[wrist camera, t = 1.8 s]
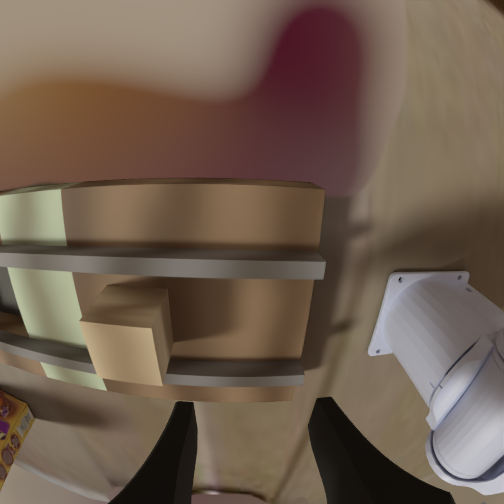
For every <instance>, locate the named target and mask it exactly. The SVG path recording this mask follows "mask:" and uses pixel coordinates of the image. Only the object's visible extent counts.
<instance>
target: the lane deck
mask: <svg viewBox="0 0 504 504" xmlns="http://www.w3.org/2000/svg"><path fill="white" fill-rule="evenodd" d="M324 198H325V189H323V188H321V187H319V186H317V185H315V184H313V183H310V182H296V181H280V180H262V179H234V178H147V179H121V180H104V181H88V182H75V183H64V184H54V185H44V186H36V187H27V188H20V189H13V190H6V191H0V362H3V363H5V364H8V365H11V366H14V367H17V368H20V369H23V370H26V371H29V372H32V373H35V374H39V375H42V376H46V377H49V378H53V379H57V380H61V381H65V382H69V383H73V384H77V385H82V386H86V387H91V388H96V389H101V390H106V391H112V392H118V393H124V394H131V395H138V396H146V397H154V398H163V399H174V400H187V401H204V402H275V401H292V397H293V392H294V388H295V385H302V384H303V380H304V371H303V368H302V364H301V361H300V359H301V354H302V349H303V344H304V338H305V333H306V327H307V322H308V316H309V310H310V304H311V298H312V292H313V285H314V279H323V278H324V272H325V266H326V261H325V260H324V259H323V257H322V256H321V255H320V253H319V252H318V250H319V242H320V234H321V226H322V217H323V208H324ZM106 285H110V286H126V287H144V288H165V289H168V297H169V307H170V316H171V325H172V333H173V341H174V343H173V347H172V351H171V355H170V359H169V363H168V367H167V371H166V375H165V379H164V384H163V386H155V385H146V384H138V383H131V382H123V381H117V380H111V379H105V378H99V377H98V376H97V373H96V371H95V368H94V365H93V362H92V360H91V357H90V354H89V351H88V348H87V345H86V342H85V339H84V336H83V332H82V329H81V326H80V322H79V320H80V319H81V318H82V316H83V315H84V314H85V312H86V311H87V310H88V308H89V307H90V306H91V304H92V303H93V302H94V301H95V299H96V298H97V297H98V295H99V294H100V293H101V292H102V290H103V289H104V288H105V287H106Z"/></svg>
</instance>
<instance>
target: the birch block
mask: <svg viewBox="0 0 504 504" xmlns="http://www.w3.org/2000/svg"><path fill="white" fill-rule="evenodd" d="M79 322H80V326H81V329H82V332H83V336H84V339H85V342H86V345H87V348H88V351H89V354H90V357H91V360H92V362H93V365H94V368H95V371H96V373H97V376H98V377H99V378H105V379H111V380H117V381H123V382H131V383H138V384H146V385H155V386H163V384H164V379H165V375H166V371H167V367H168V363H169V359H170V355H171V351H172V347H173V343H174V341H173V333H172V325H171V316H170V307H169V297H168V289H165V288H144V287H126V286H110V285H106V287H105V288H104V289H103V290H102V292H101V293H100V294H99V295H98V297H97V298H96V299H95V301H94V302H93V303H92V304H91V306H90V307H89V308H88V310H87V311H86V312H85V314H84V315H83V316H82V318H81V319H80V320H79Z"/></svg>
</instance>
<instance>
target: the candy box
mask: <svg viewBox="0 0 504 504" xmlns="http://www.w3.org/2000/svg"><path fill="white" fill-rule="evenodd" d="M34 420H35V418H34V416H33V414H32V412H31V410H30V408H29V406H28V404H27V403H25V402H23V401H20V400H18V399H16V398H14V397H13V396H11V395H9V394H7V393H5V392H4V391H2V390H0V491H1V489H2V486H3V484H4V482H5V479H6V477H7V475H8V472H9V470H10V468H11V466H12V464H13V462H14V459H15V457H16V455H17V453H18V451H19V449H20V447H21V445H22V443H23V441H24V439H25V437H26V436H27V434H28V432H29V430H30V428H31V426H32V424H33V422H34Z"/></svg>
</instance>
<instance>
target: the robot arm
mask: <svg viewBox="0 0 504 504" xmlns="http://www.w3.org/2000/svg"><path fill="white" fill-rule="evenodd" d="M469 276H470V275H469V273H468V272H467V271H438V272H393V273H392V274H391V275H390V276H389V279H388V283H387V287H386V291H385V295H384V299H383V302H382V306H381V309H380V313H379V316H378V320H377V323H376V326H375V329H374V333H373V336H372V339H371V342H370V345H369V348H368V354H369V355H370V356H376V355H383V354H390V353H394V355H395V356H396V358H397V359H398V361H399V362H400V364H401V365H402V367H403V368H404V370H405V371H406V373H407V374H408V376H409V377H410V379H411V380H412V382H413V383H414V385H415V387H416V388H417V390H418V391H419V393H420V394H421V396H422V398H423V399H424V401H425V402H426V404H427V406H428V407H429V409H430V413H429V415H428V416H427V417H426V420H427V422H428V424H429V426H430V427H431V430H430V432H429V434H428V436H427V439H426V445H425V447H426V455H427V459H428V461H429V464H430V466H431V467H432V469H433V470H434V472H435V473H436V474H437V475H438V476H439V477H440V478H441V479H443V480H444V481H446V482H448V483H450V484H453V485H458V486H467V487H471V488H473V489H475V490H477V491H478V492H480V493H481V494H483V495H491V494H496V493H501V492H504V312H503V311H502V310H501V309H500V308H499V307H497V306H496V305H495V304H494V303H492V302H491V301H490V300H489V299H487V298H486V297H485V296H484V295H482V294H481V293H480V292H478V291H477V290H476V289H474V288H473V287H472V286H470V285H469V284H468V280H469ZM400 277H401V279H400V280H399V278H400ZM398 280H399V281H398ZM378 349H379V350H378ZM377 350H378V351H377ZM308 429H309V435H310V441H311V446H312V450H313V453H314V456H315V459H316V463H317V466H318V469H319V472H320V475H321V479H322V482H323V485H324V489H325V493H326V498H327V504H455V502H454V499H453V497H452V495H451V494H450V492H447V491H444V490H442V489H439V488H436V487H434V486H432V485H429V484H427V483H425V482H423V481H421V480H419V479H418V478H416V477H414V476H413V475H411V474H409V473H408V472H406V471H404V470H403V469H401V468H400V467H399V466H397V465H396V464H394V463H393V462H392V461H390V460H389V459H388V458H387V457H385V456H384V455H383V454H382V453H381V452H380V451H379V450H377V449H376V448H375V447H374V446H373V445H372V444H371V443H370V442H369V441H368V440H367V439H366V438H365V437H364V436H363V435H362V433H361V432H360V431H359V430H358V429H357V428H356V427H355V426H354V425H353V423H352V422H351V421H350V420H349V419H348V417H347V416H346V415H345V414H344V412H343V411H342V410H341V409H340V407H339V406H338V405H337V403H336V402H335V401H334V399H333V398H332V397H323V398H317V399H316V402H315V406H314V409H313V412H312V415H311V418H310V421H309V424H308ZM197 434H198V429H197V423H196V416H195V410H194V403H193V402H183V401H178V402H176V403H175V406H174V409H173V411H172V414H171V416H170V418H169V421H168V423H167V425H166V427H165V429H164V431H163V433H162V435H161V436H160V438H159V440H158V442H157V444H156V445H155V447H154V449H153V450H152V452H151V453H150V455H149V456H148V458H147V460H146V461H145V462H144V464H143V465H142V467H141V468H140V469H139V471H138V472H137V473H136V475H135V476H134V477H133V478H132V479H131V481H130V482H129V483H128V484H127V485H126V486H125V487H124V489H123V490H122V491H121V492H120V493H119V494H118V495H117V496H116V497H115V498H114V499H113V500H111V501H110V502H109V503H108V504H191V495H192V486H193V478H194V471H195V463H196V455H197ZM481 504H486V503H485V502H483V503H481Z"/></svg>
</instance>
